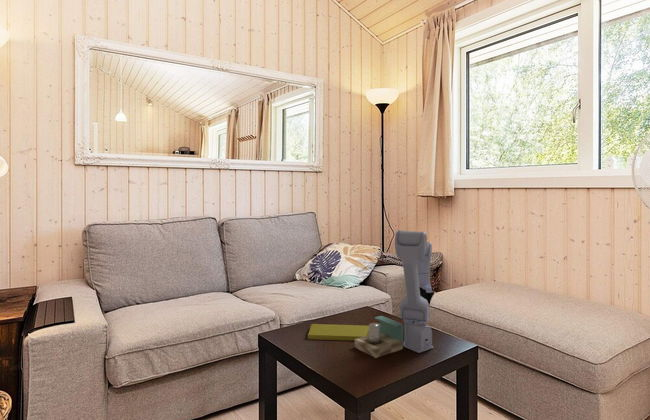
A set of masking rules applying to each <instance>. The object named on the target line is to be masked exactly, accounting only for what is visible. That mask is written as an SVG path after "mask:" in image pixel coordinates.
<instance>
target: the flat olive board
mask: <svg viewBox="0 0 650 420" xmlns="http://www.w3.org/2000/svg"><path fill="white" fill-rule="evenodd" d="M368 335H369V325H359V324H357V325H355V324H322V323H321V324H320V323H311V325H310V327H309V332H308V334H307V340H321V341H322V340H323V341H324V340H326V341H327V340H328V341H348V342H349V341H352V342H353V341H354V342H355V339H357V338H361V337H364V336H368Z"/></svg>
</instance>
